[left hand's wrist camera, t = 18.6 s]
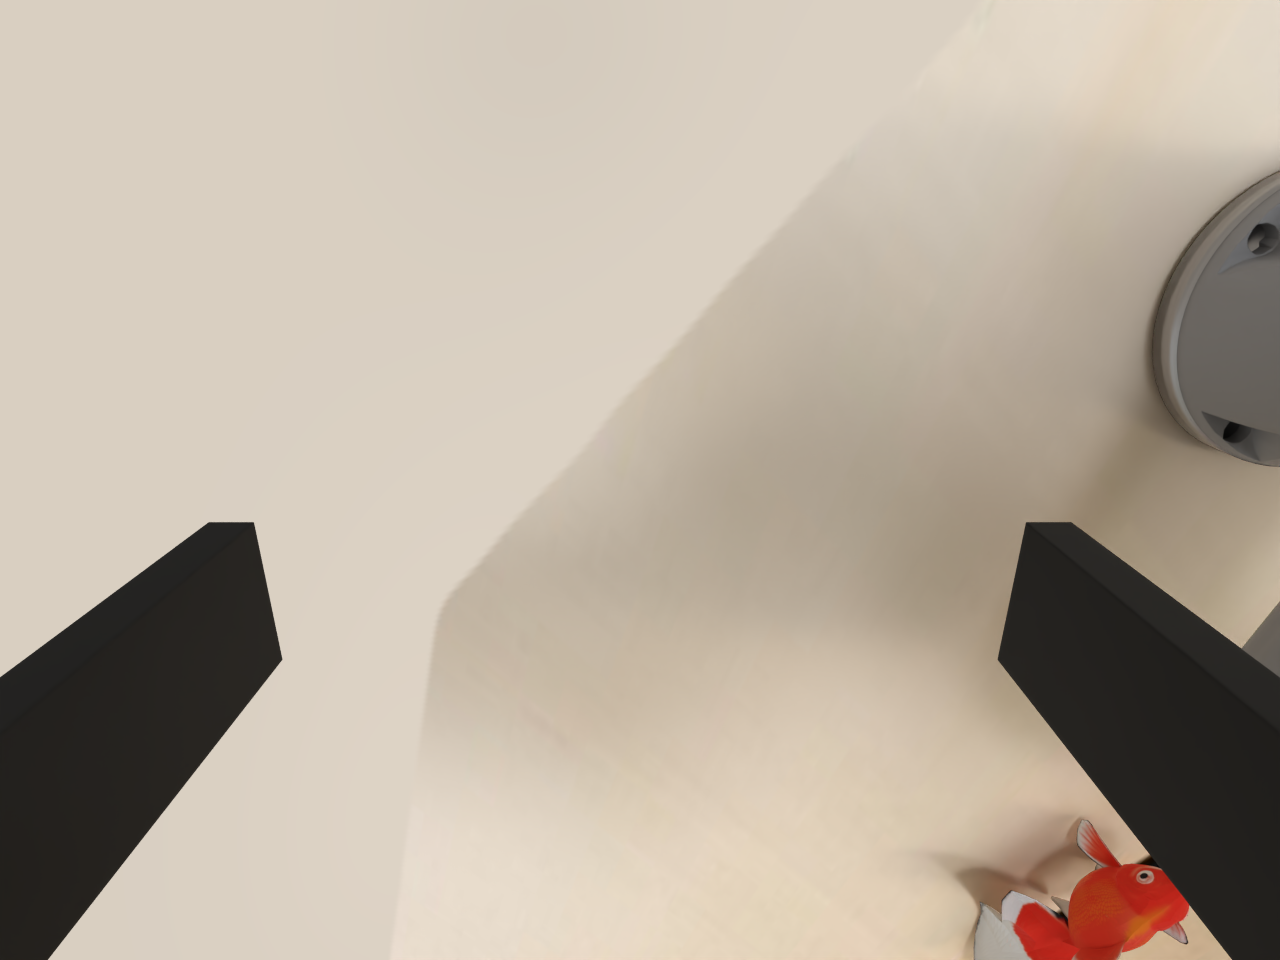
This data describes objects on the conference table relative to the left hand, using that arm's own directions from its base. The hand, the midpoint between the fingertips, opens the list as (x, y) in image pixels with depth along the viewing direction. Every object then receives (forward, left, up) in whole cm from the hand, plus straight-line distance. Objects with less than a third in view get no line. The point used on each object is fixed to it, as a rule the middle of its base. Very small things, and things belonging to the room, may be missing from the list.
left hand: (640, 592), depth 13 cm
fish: (+43, +22, -27) cm, 55 cm away
